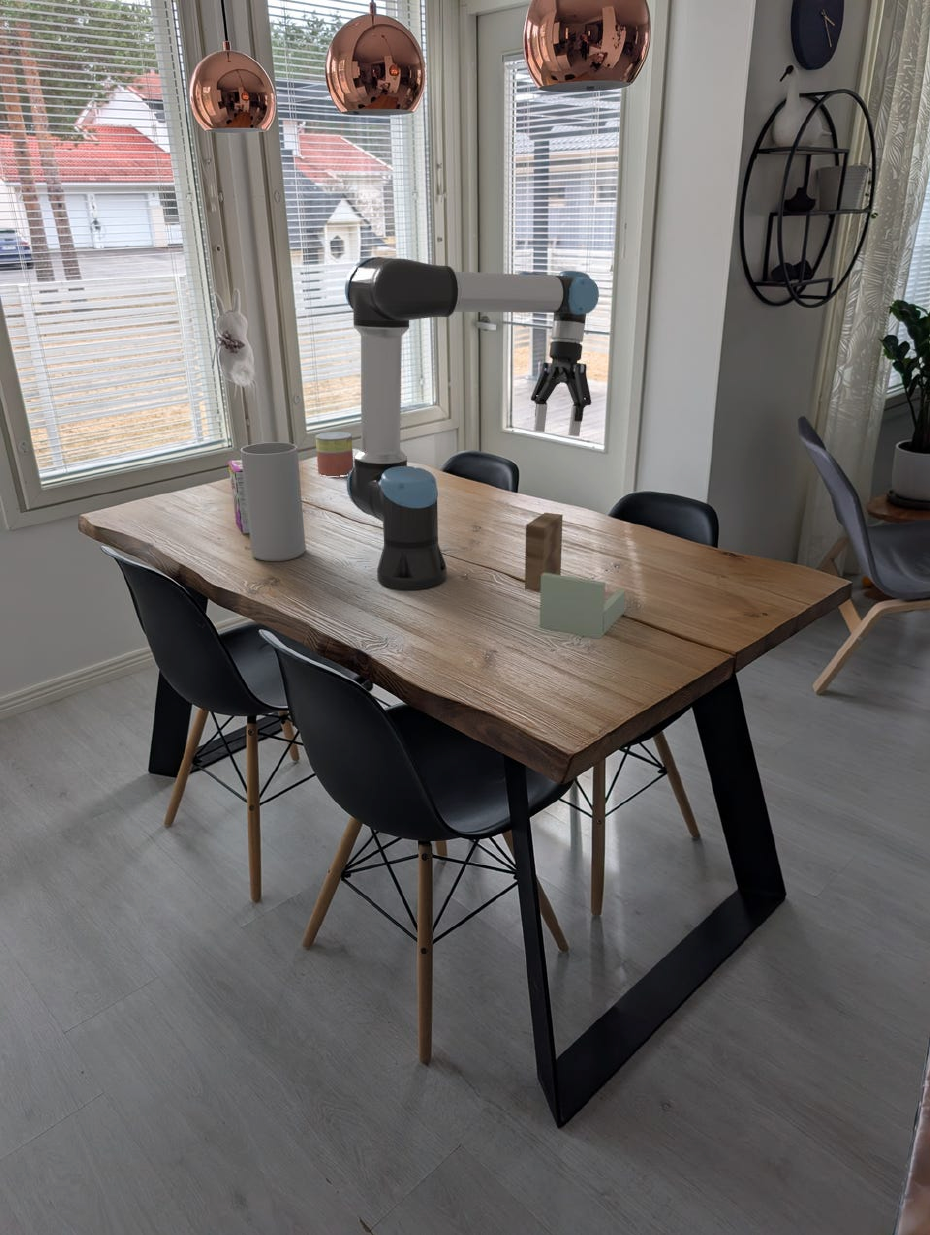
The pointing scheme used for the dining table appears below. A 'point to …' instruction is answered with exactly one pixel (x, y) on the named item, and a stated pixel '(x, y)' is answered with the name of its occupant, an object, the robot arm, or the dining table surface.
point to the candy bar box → (239, 495)
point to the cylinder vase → (273, 500)
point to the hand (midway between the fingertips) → (555, 433)
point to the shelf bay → (578, 605)
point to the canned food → (334, 453)
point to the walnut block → (542, 549)
